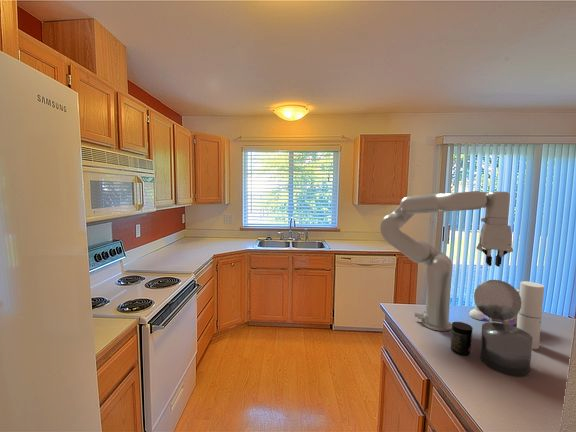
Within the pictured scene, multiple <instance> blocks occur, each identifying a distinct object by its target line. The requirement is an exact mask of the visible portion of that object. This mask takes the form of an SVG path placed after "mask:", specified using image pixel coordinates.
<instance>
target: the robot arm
mask: <svg viewBox="0 0 576 432" xmlns="http://www.w3.org/2000/svg"><path fill="white" fill-rule="evenodd" d="M510 201H511V195H510V192H508V191H480V190H473V191H462V192H452V193H439V192H438V193H428V194H420V195H419V194H417V195H408V196H404V197H403V198H401V200H400V201H399V205H398V206H397V207H396V209H395V210H393V211H392V212H391V213H389V214H386V215H385V216H384V217H383V218H382V220H381V221H380V227H379V228H380V233H381V236H382V238H383V239H384V240H385V241H386V242H387V243H388V245H390V246H391V247H393V248H395V249H396V250H397V251H399V253H401V254H403V255H404V256H405V257H407V258H408V259H409V260H410V261H412V262H413V263H416V264H424V265H425V266H427V267H426V268H427V269H426V295H425V296H426V297H425V298H426V299H425V311H423V312H421V313H419V312H414V318H417V319H418V320H421V324H422V325H423V326H424V327H426V328H428V329H430V330H433V331H439V332H449V331H452V322H450V304H451V302H450V301H451V285H452V284H451V283H452V274H453V263H452V260H451V259H450V257H449V256H447V255H446V254H445V253H443V252H442V251H440V250H439V249H438V248H436V247H434V246H433V245H431V244H430V243H428V242H426V241H425V240H424V241H423V240H415V238H414V239H413V238H412V237H411V236H409V234H406V233H405V232H403V231H402V230H400V229H401V228H402V227H403V226H405V225H406V223H407V222H408V221H409V220H411V219H412V218H413V216H414V215H415V214H431V213H433V214H434V213H445V212H458V211H459V212H460V211H461V212H462V211H472V210H473V211H474V210H480V209H485V216H484V218H481V219H480V221H481V222H483V223H484V224H482V227H481V230H480V235H479V241H478V242H479V243H478V244H477V246H476V250H478V251H480V252H483V254H484V255H485V264H487V266H488V267H492V266H493V265H492V261H493V256H492V250H493V251H495V250H496V255H495V259H494V265H495V267H501V265H502V258H503V257H504V256H506V254H509V253H512V252H514V249H513V247H512V246H513V245H512V244H513V239H512V238H513V237H512V227H511V225H509V224H508V223H509V214H510V213H509V212H510Z"/></svg>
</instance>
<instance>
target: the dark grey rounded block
mask: <svg viewBox="0 0 576 432" xmlns="http://www.w3.org/2000/svg"><path fill="white" fill-rule="evenodd" d="M480 337H481V338H480V347H479V348H480V351H479V358H480V361H481V362H482V363H483V364H484V365H485V366H487V367H488V368H490V369H491V370H494V371H495V372H498V373H499V374H504V375H506V376H511V377H514V378H515V377H517V378H524V377H527V376H529V375H530V372H531V362H532V350H533V349H532V336H531V335H530V334H528V333H527V332H525V331H523V330H521V329H519V328H517V326H510V325H507V324H502V323H494V322H489V321H488V322H484V323H482V325H481V336H480Z"/></svg>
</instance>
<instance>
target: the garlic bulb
mask: <svg viewBox="0 0 576 432" xmlns="http://www.w3.org/2000/svg"><path fill="white" fill-rule="evenodd" d="M469 317H470V318H472V319H475V320H479V321H481V320H484V319H485V317H486V315H484V314H483V313H482V312H481V311H480V310H479V309H478V308H477V306H476V305H475V306H474V308H473V309H471V310H470V311H469Z"/></svg>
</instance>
